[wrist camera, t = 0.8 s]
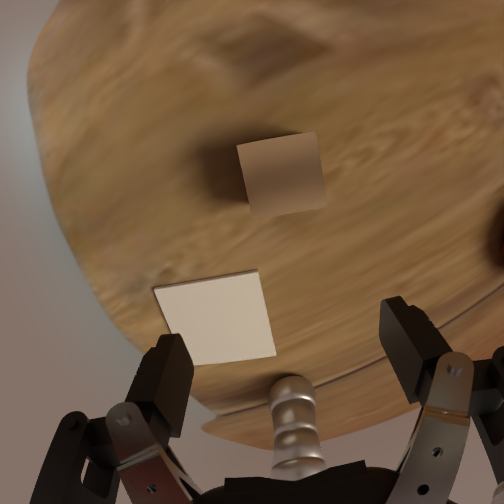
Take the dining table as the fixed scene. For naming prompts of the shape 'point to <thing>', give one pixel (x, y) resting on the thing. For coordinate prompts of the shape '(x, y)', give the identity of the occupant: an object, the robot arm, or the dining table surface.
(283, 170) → the cube
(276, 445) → the plastic bottle
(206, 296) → the plate
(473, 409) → the robot arm
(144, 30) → the dining table surface
